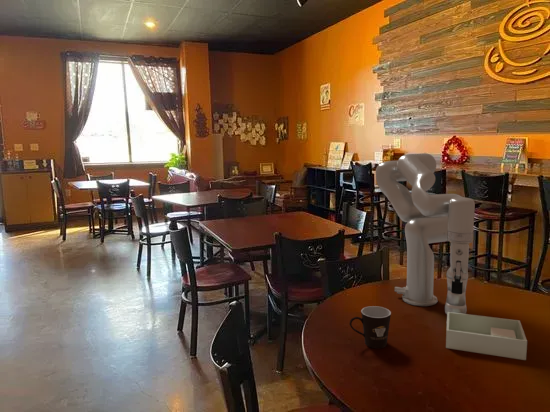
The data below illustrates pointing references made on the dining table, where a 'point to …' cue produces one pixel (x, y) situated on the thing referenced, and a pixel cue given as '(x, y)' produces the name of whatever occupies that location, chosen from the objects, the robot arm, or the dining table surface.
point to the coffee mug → (374, 326)
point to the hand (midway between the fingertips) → (456, 289)
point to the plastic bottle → (455, 295)
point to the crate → (484, 335)
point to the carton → (502, 333)
